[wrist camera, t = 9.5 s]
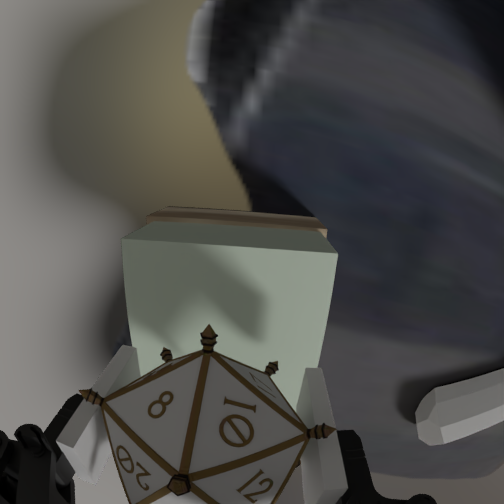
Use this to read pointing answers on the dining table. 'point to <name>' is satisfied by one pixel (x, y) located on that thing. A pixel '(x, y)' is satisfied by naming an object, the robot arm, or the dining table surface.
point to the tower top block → (230, 295)
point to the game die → (204, 431)
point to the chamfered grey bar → (461, 408)
